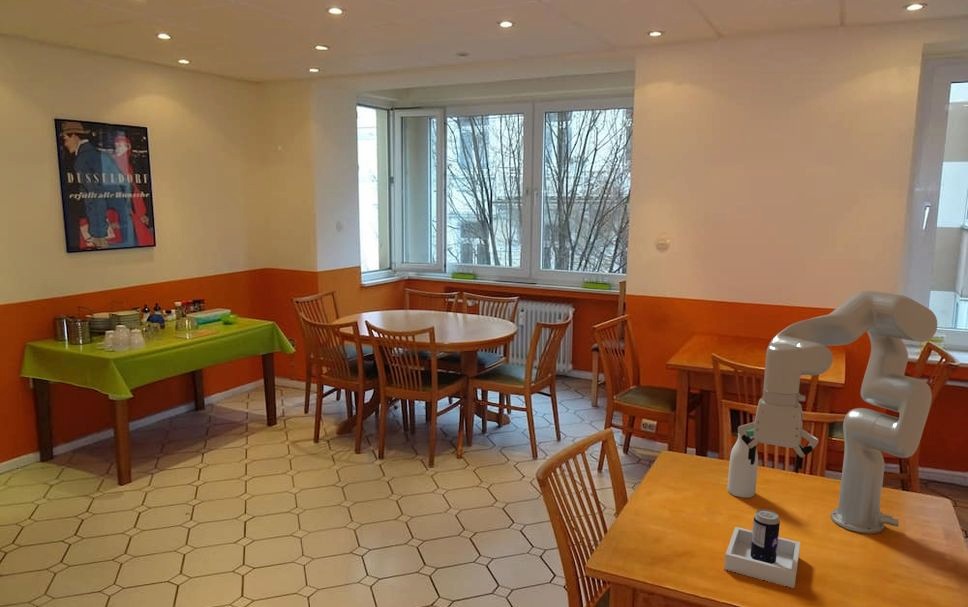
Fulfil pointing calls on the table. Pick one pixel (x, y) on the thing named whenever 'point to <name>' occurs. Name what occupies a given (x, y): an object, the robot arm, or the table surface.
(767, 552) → the beverage can
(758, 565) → the box
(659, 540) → the table surface
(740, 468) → the milk bottle
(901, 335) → the robot arm
